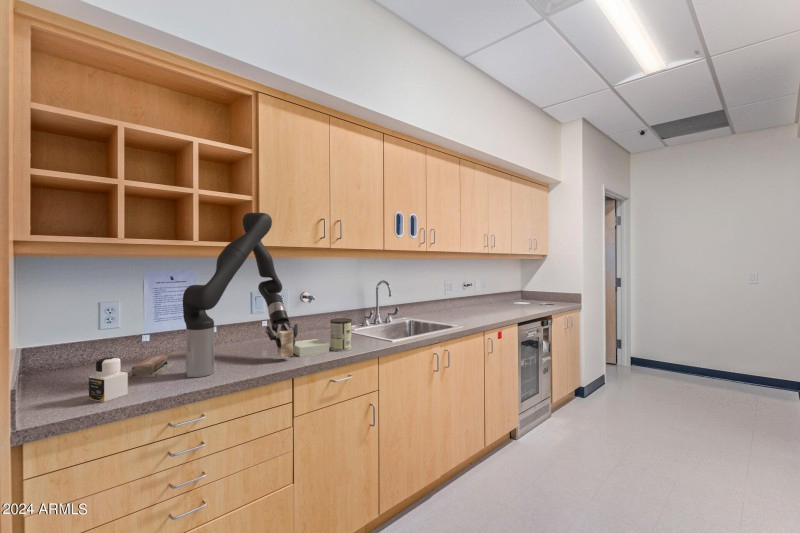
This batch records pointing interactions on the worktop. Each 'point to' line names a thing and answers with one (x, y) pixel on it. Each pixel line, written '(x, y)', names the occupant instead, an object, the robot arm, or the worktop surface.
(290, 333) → the birch block
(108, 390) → the medicine bottle
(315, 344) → the sage plinth
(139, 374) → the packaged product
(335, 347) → the coffee can
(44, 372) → the worktop surface
